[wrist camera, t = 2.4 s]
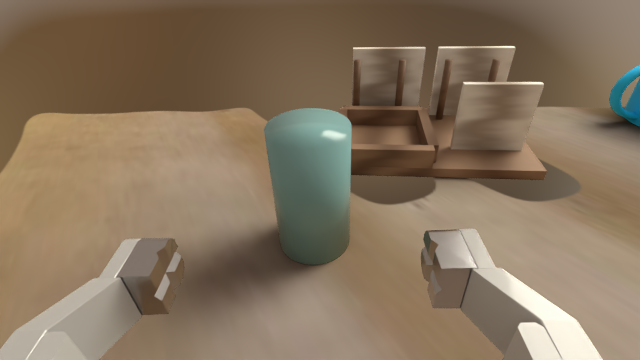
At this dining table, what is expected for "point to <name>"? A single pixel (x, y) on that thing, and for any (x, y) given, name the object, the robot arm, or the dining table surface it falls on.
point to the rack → (441, 115)
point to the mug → (636, 108)
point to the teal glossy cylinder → (311, 182)
